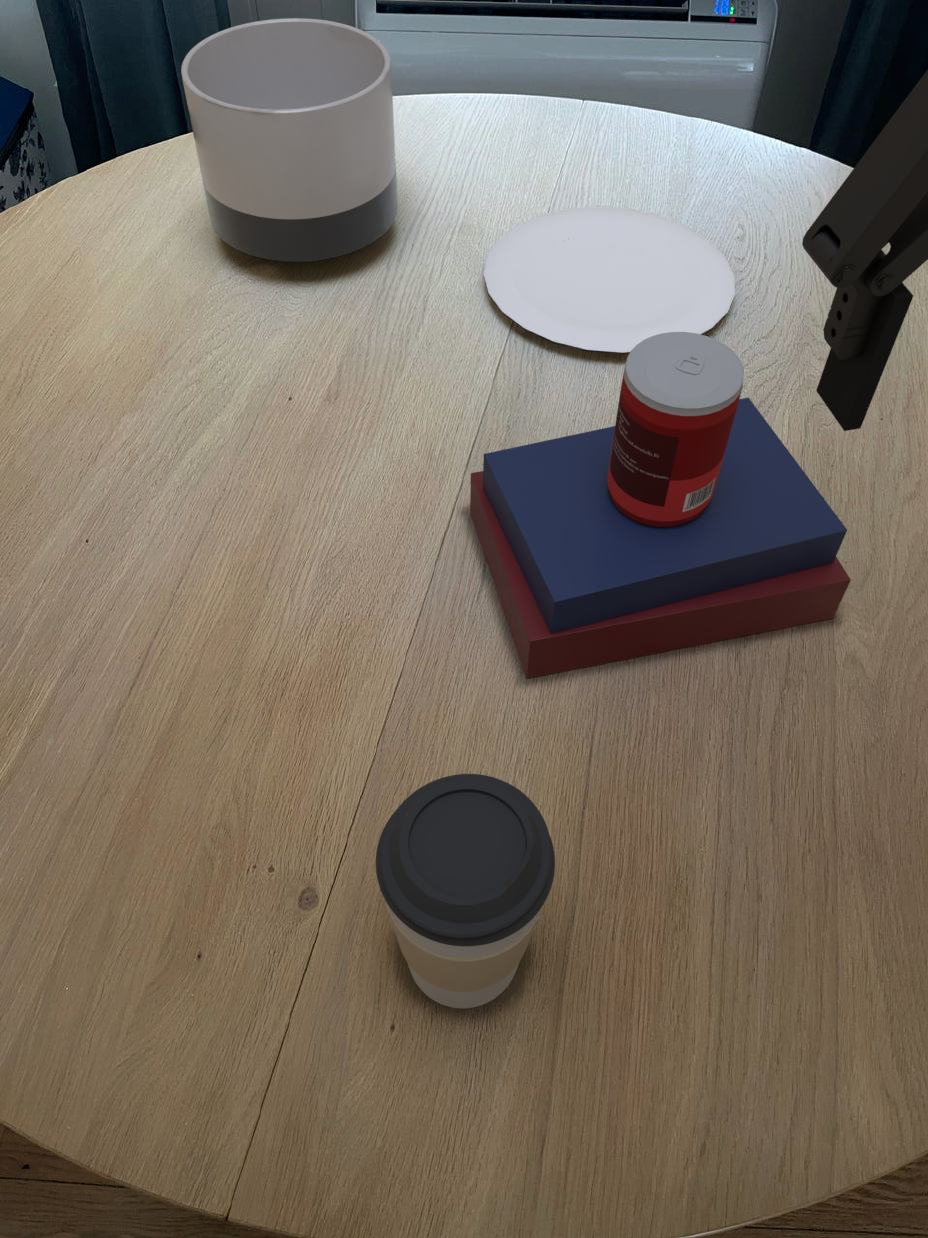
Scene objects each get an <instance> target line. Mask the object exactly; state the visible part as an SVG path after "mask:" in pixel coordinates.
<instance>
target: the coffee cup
mask: <svg viewBox="0 0 928 1238" xmlns="http://www.w3.org/2000/svg"><path fill="white" fill-rule="evenodd" d="M555 872H556V856H555V849H554V844H553V841H552V837H551V835H550V831H549V829H548V825H547V822H546V820H545V819H544V817H543V815H542V813H541V812H540V810H539V808H538V806H536V804H535V803H534V801H532V800H531V799H530V798H529V797H528V795H526V794H525V793H524V792H523V791H521V790H520V789H519V788H517V787H516V786H515V785H512V784H511V783H509V782H506V781H505V780H502V779H500V778H497V777H493V776H490V775H485V774H479V773H458V774H452V775H447V776H443V777H441V778H440V777H439V778H437V779H435V780H432V781H430V782H428V783H426V784H425V785H423V786H421V787H420V788H418V789H416V790H415V791H413V792H412V793H411V794H410V795H409V796H407V797H406V798H405V799H404V800H403V801H402V802H401V803H400V805H398V807H397V808H396V809H395V810H394V812H393V813H392V814H391V816H390V817H389V818H388V820H387V822H386V823H385V825H384V827H383V829H382V831H381V833H380V837H379V839H378V843H377V846H376V853H375V873H376V879H377V883H378V887H379V890H380V892H381V894H382V897H383V899H384V903H385V906H386V911H387V912H388V916H389V919H390V921H391V925H392V928H393V931H394V934H395V937H396V941H397V943H398V945H399V949H400V951H401V954H402V956H403V957H404V959H405V961H406V963H407V965H408V968H409V969H408V970H409V972H410V975H411V977H412V979H413V981H414V982H415V984H416V985H417V987H418V989H420V991H421V992H422V993H424V995H425V996H426V997H428V998H429V999H431V1000H432V1001H434V1002H435V1003H437V1004H439V1005H441V1006H445V1007H448V1008H453V1009H460V1010H461V1009H472V1008H478V1007H480V1006H483V1005H486V1004H488V1003H490V1002H492V1001H493V1000H495V999H497V998H498V996H500V995H502V993H504V992H505V990H506V989H507V988H508V987H509V986H510V984H511V983H512V981H513V979H514V977H515V975H516V973H517V970H518V967H519V964H520V962H521V960H522V958H523V957H524V955H525V953H526V951H527V949H528V946H529V944H530V941H531V938H532V936H533V933H534V931H535V928H536V926H537V924H538V921H539V919H540V916H541V915H542V911H543V909H544V905H545V903H546V901H547V899H548V897H549V895H550V893H551V890H552V887H553V883H554V878H555Z"/></svg>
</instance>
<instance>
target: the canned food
mask: <svg viewBox="0 0 928 1238" xmlns="http://www.w3.org/2000/svg"><path fill="white" fill-rule="evenodd" d="M744 379H745V369H744V365H743V363H742V360H741V359H740V358H739V356H738V355H737V354H736V352H735V351H733V350H732V349H731V348H730V347H728V345H726V344H725V343H723V342H721V341H719V340H717V339H716V338H712V337H710V336H707V335H705V334H702V335H700V334H696V333H689V332H669V333H662V334H658V335H654V336H651V337H649V338H647V339H645V340H643V341H642V342H640V343H639V344H637V345H636V346H635V347H634V348H633V349H632V350H631V352H630V353H629V354H627V357H626V362H625V364H624V368H623V373H622V378H621V385H620V391H619V398H618V404H617V412H616V419H615V424H614V426H615V431H614V437H613V444H612V451H611V457H610V464H609V470H608V477H607V480H608V488H609V492H610V495H611V498H612V501H613V502H614V504H615V505H616V507H617V508H618V509H619V510H620V511H621V512H622V513H623V514H625V515H626V516H628V517H629V518H630V519H633V520H635V521H637V522H639V523H642V524H646V525H649V526H657V527H671V526H677V525H681V524H684V523H687V522H689V521H691V520H693V519H694V518H696V517H697V516H698V515H699V514H701V513H702V511H703V510H704V509H705V507H706V506H707V505H708V503H709V502H710V501H711V499H712V496H713V493H714V490H715V486H716V483H717V479H718V476H719V472H720V468H721V465H722V461H723V458H724V454H725V450H726V447H727V443H728V440H729V436H730V432H731V429H732V425H733V422H734V418H735V414H736V411H737V407H738V404H739V400H740V399H741V394H742V391H743V387H744Z"/></svg>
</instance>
